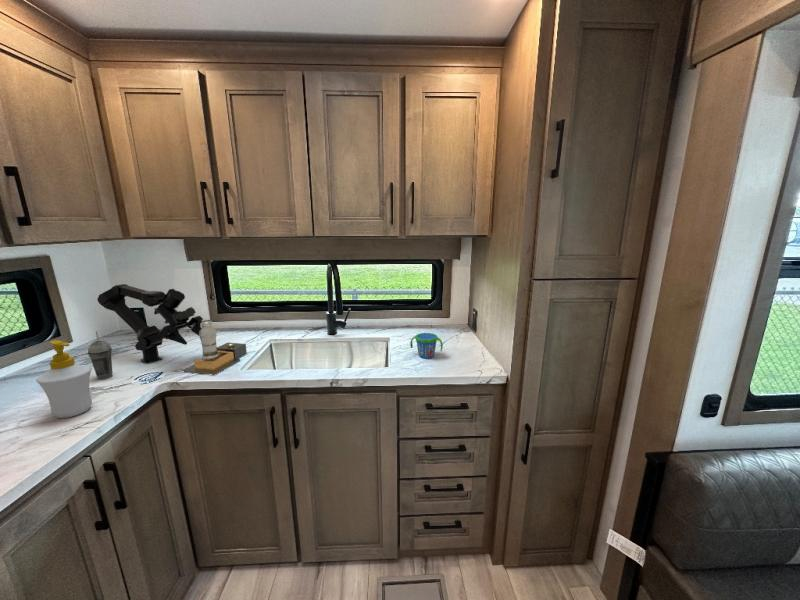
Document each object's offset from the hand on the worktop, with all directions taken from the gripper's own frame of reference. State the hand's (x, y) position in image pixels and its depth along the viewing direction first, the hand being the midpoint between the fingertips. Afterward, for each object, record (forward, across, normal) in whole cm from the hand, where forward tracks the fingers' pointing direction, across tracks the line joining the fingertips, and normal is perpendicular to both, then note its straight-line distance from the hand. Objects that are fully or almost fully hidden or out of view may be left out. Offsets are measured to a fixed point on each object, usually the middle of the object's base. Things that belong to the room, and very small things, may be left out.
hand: (195, 340), depth 144 cm
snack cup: (+78, +32, -62) cm, 104 cm away
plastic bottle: (+13, 0, +3) cm, 13 cm away
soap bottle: (+2, -42, +15) cm, 44 cm away
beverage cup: (-11, -19, +28) cm, 35 cm away
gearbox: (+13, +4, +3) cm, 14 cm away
